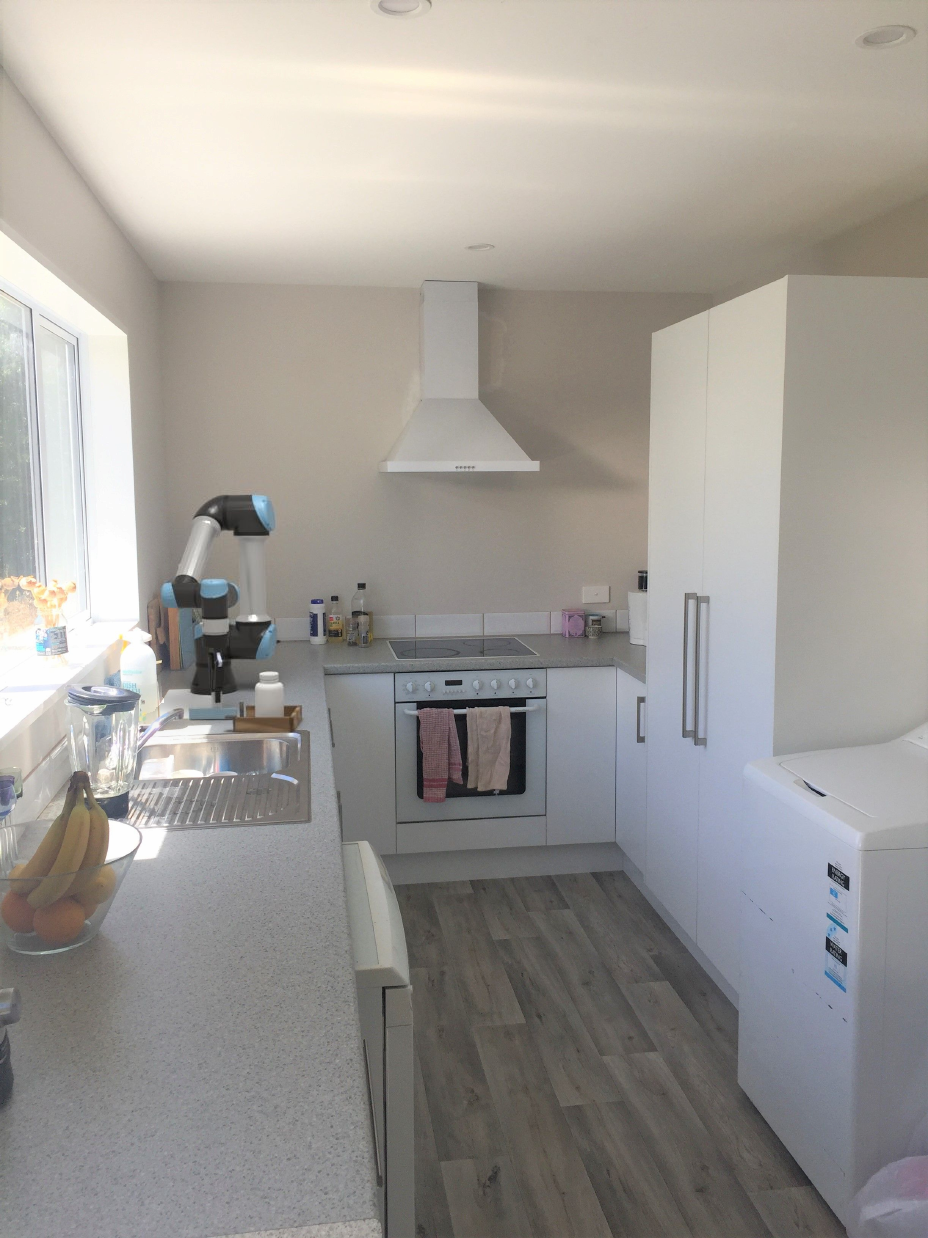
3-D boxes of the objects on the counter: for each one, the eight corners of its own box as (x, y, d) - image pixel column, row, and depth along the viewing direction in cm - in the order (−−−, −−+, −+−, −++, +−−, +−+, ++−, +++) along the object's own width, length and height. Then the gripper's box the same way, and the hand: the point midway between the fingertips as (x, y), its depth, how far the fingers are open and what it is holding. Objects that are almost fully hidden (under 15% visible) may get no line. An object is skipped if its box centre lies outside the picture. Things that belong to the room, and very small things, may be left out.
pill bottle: (274, 729, 264) (273, 676, 262) (249, 727, 267) (248, 674, 265) (289, 723, 272) (288, 671, 270) (265, 721, 275) (264, 669, 273)
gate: (237, 718, 277) (236, 707, 277) (236, 718, 276) (236, 708, 276) (190, 718, 277) (189, 708, 276) (189, 719, 276) (188, 708, 275)
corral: (237, 718, 277) (237, 702, 277) (302, 718, 278) (301, 701, 277) (225, 732, 261) (224, 714, 261) (293, 732, 262) (292, 714, 261)
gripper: (197, 630, 279) (199, 709, 282) (206, 636, 267) (208, 719, 270) (223, 629, 282) (225, 707, 285) (233, 635, 271) (235, 716, 274)
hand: (217, 713), depth 278 cm, fingers closed
